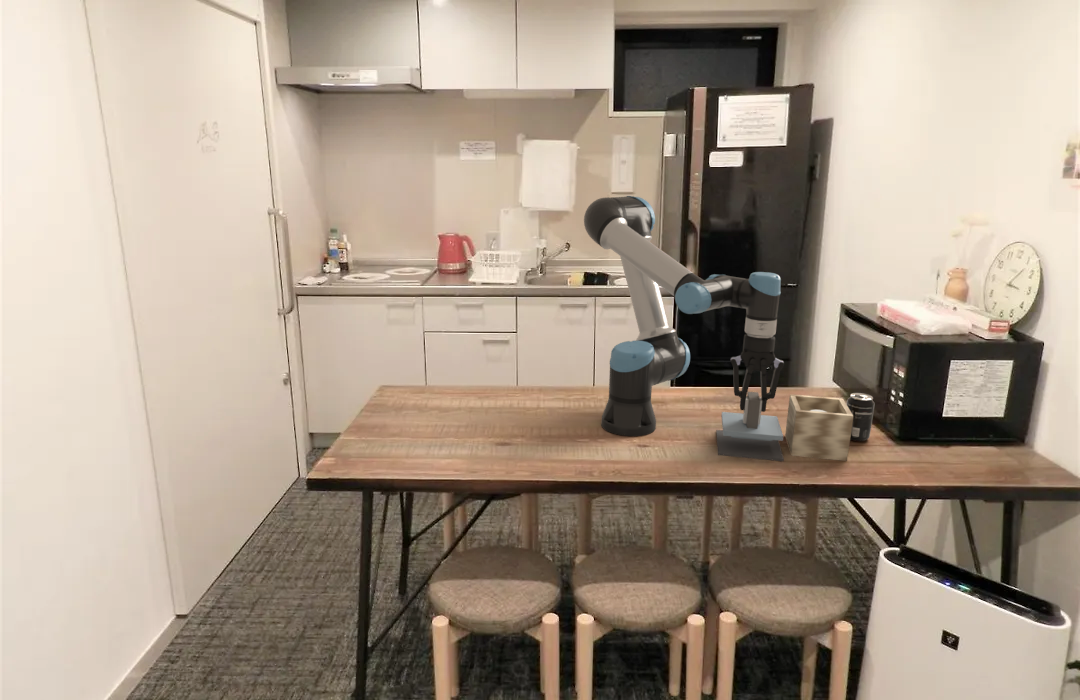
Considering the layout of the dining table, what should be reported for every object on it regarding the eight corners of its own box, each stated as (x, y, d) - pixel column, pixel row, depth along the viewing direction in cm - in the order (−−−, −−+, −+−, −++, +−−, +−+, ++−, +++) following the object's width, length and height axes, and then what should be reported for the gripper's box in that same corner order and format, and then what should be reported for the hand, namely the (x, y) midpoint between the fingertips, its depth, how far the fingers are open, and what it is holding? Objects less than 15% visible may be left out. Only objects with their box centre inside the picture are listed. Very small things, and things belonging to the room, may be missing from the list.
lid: (722, 439, 181) (726, 403, 178) (721, 420, 194) (724, 385, 192) (782, 445, 178) (786, 407, 175) (776, 424, 191) (780, 389, 189)
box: (791, 455, 182) (796, 411, 179) (785, 435, 194) (789, 394, 191) (846, 460, 179) (853, 416, 176) (837, 440, 192) (842, 398, 189)
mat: (717, 454, 181) (718, 452, 181) (716, 431, 196) (716, 429, 196) (783, 461, 178) (783, 459, 178) (776, 437, 193) (777, 435, 193)
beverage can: (845, 431, 198) (851, 390, 195) (871, 437, 195) (877, 395, 191) (839, 438, 193) (845, 397, 190) (866, 445, 189) (872, 402, 186)
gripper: (728, 336, 177) (720, 424, 183) (794, 340, 174) (784, 430, 180) (727, 329, 184) (719, 414, 190) (790, 333, 181) (781, 419, 187)
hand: (751, 422), depth 185 cm, fingers closed on lid, 3 cm apart
